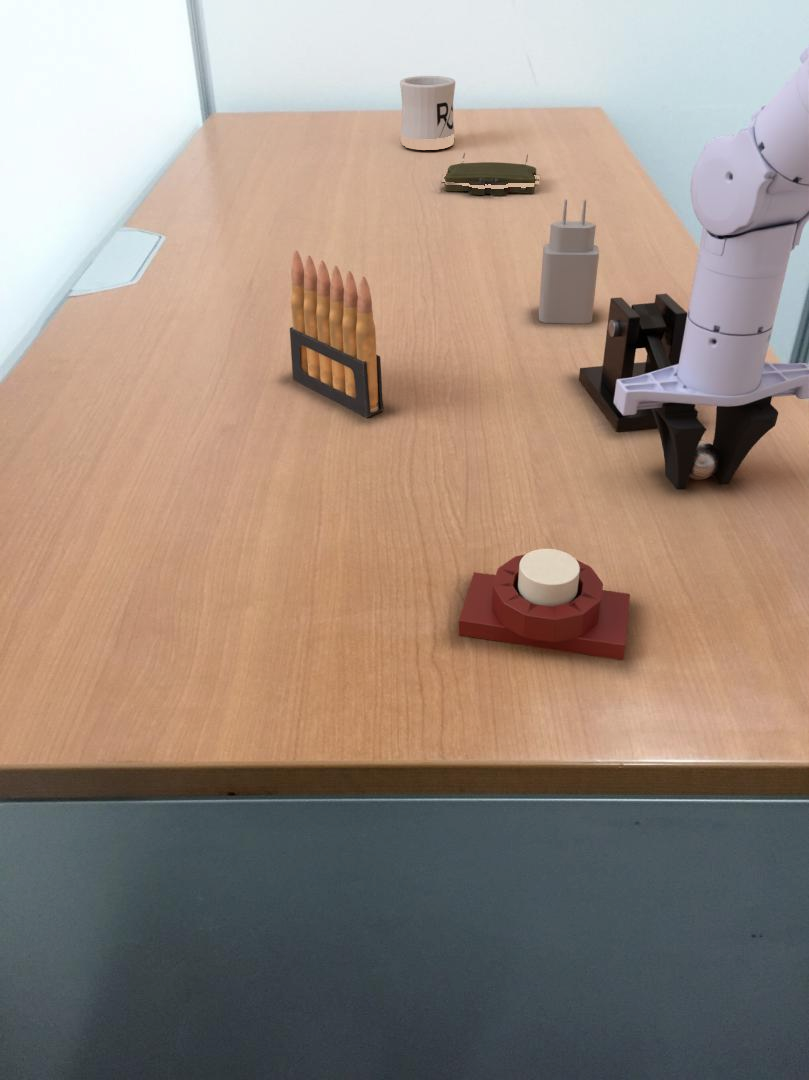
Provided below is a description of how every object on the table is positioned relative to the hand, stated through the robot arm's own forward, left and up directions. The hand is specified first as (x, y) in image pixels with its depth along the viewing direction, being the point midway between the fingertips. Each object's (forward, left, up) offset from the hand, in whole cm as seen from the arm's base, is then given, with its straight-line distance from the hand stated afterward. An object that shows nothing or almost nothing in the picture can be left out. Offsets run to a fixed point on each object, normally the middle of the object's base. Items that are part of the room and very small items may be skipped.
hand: (695, 485), depth 74 cm
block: (+9, +20, +1) cm, 22 cm away
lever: (+3, -7, +3) cm, 8 cm away
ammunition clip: (+31, -7, 0) cm, 32 cm away
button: (+9, +20, +3) cm, 22 cm away
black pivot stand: (+5, -12, +1) cm, 13 cm away
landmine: (+29, -79, 0) cm, 84 cm away
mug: (+43, -99, 0) cm, 108 cm away
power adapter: (+13, -29, 0) cm, 32 cm away
